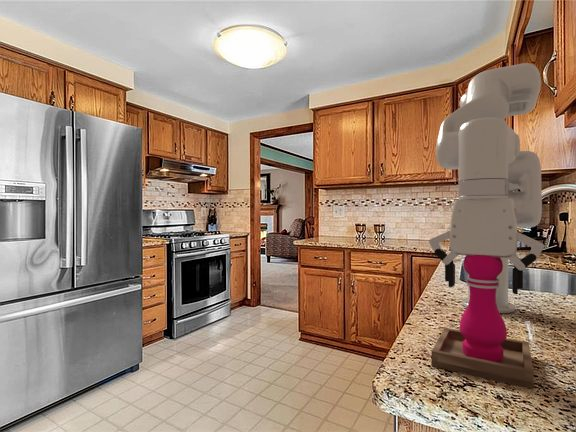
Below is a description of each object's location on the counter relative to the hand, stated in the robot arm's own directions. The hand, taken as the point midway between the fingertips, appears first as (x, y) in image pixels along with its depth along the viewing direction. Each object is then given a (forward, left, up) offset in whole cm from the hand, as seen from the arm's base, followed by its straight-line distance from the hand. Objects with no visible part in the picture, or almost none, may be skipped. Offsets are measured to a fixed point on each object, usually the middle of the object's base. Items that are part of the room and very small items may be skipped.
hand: (482, 289), depth 59 cm
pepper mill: (0, 0, -12) cm, 12 cm away
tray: (0, 0, -13) cm, 13 cm away
